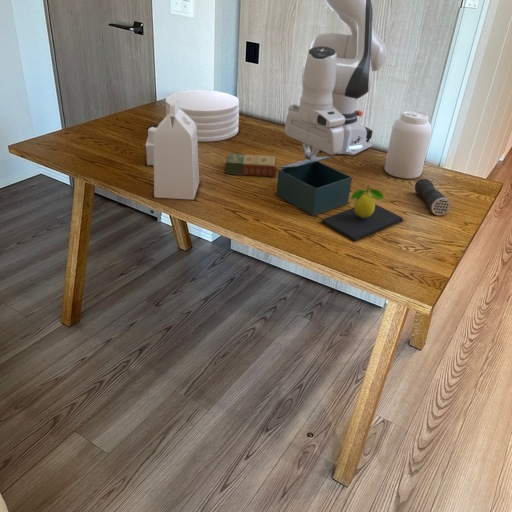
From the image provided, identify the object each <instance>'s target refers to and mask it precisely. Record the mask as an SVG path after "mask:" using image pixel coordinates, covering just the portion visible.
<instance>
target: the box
mask: <svg viewBox="0 0 512 512" xmlns="http://www.w3.org/2000/svg"><path fill="white" fill-rule="evenodd" d="M352 180H353V176H351V175H348V174H346V173H344V172H342V171H340V170H338V169H335V168H334V167H331V166H329V165H328V164H326V163H323V162H320V161H317V162H313V163H310V164H306V165H303V166H299V167H293V168H278V172H277V185H276V196H277V197H279V198H281V199H282V200H284V201H286V202H287V203H289V204H290V205H293V206H294V207H296V208H298V209H300V210H302V211H303V212H305V213H306V214H308V215H310V216H312V217H313V216H316V215H319V214H322V213H325V212H327V211H330V210H333V209H336V208H338V207H341V206H343V205H347V204H348V203H349V198H350V194H351V193H350V192H351V188H352V187H351V186H352Z"/></svg>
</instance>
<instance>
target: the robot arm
mask: <svg viewBox="0 0 512 512" xmlns="http://www.w3.org/2000/svg"><path fill="white" fill-rule="evenodd" d="M324 1H325V4H326V5H327V6H328V7H329V9H331V10H332V11H333V12H334V13H335V14H336V17H337V18H338V20H339V21H340V22H341V23H343V24H345V26H347V27H348V28H349V30H350V32H351V34H347V33H346V34H344V33H337V32H336V33H335V32H325V33H320V34H318V35H316V36H315V37H314V38H313V40H312V42H311V44H310V47H309V48H310V49H309V50H307V53H306V57H305V59H304V60H305V61H304V65H303V67H302V74H301V86H302V92H301V95H300V98H299V104H296V103H292V104H291V105H290V106H289V107H288V111H287V115H286V119H285V122H284V134H285V136H287V137H289V138H291V139H294V140H296V141H298V142H300V143H302V145H301V147H302V149H303V153H304V156H303V158H304V159H305V160H307V159H308V160H310V161H314V160H315V158H316V157H317V154H318V153H319V152H320V151H321V152H323V153H326V154H327V155H329V156H334V155H347V156H355V155H357V154H359V153H360V152H363V151H365V150H367V149H369V148H371V147H372V146H373V142H371V141H370V140H371V139H372V137H373V130H372V129H370V128H369V127H367V126H364V125H362V124H361V122H360V121H358V117H360V118H361V117H363V115H364V112H363V110H359V109H358V110H357V103H358V100H359V99H360V98H362V97H364V96H365V95H366V94H368V93H369V91H370V89H371V87H372V83H373V72H377V71H379V70H381V68H382V67H383V66H384V65H385V63H386V60H387V56H388V49H387V45H386V43H385V42H384V41H383V40H382V39H381V38H380V36H379V35H378V34H377V32H376V30H375V28H374V24H373V16H374V15H373V0H324Z"/></svg>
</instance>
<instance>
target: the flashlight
mask: <svg viewBox="0 0 512 512" xmlns="http://www.w3.org/2000/svg"><path fill="white" fill-rule="evenodd" d="M414 190H415V192H416V194H417V195H418V196H420V197H421V198H422V199H423V200H424V201H425V204H426V205H427V206H428V209H429V210H430V211H431V212H432V213H433V215H436V216H444V215H446V214H447V213H448V212H449V211H450V209H451V206H452V205H451V204H452V203H451V201H450V200H449V199H448V198H447V197H446V195H444V194H442V192H441V191H439V190H437V189H436V188H435V186H434V184H433V182H432V181H431V180H430V179H428V178H420V179H418V180H416V182H415V184H414Z"/></svg>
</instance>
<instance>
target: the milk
mask: <svg viewBox="0 0 512 512" xmlns="http://www.w3.org/2000/svg"><path fill="white" fill-rule="evenodd" d="M157 125H158V127H157V129H156V130H155V132H154V165H153V198H159V199H176V200H191V201H193V200H195V197H196V194H197V191H198V188H199V185H200V171H199V167H200V166H199V149H198V148H199V147H198V146H199V145H198V141H197V127H196V124H195V122H194V121H193V120H192V119H191V118H190V117H189V116H188V115H187V114H186V113H184V112H183V111H182V110H181V109H180V106H179V100H176V99H174V100H173V101H172V103H171V104H170V113H169V114H168V115H167V116H166V115H165V117H164V118H163V119H161V121H160V122H159V124H157Z"/></svg>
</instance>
